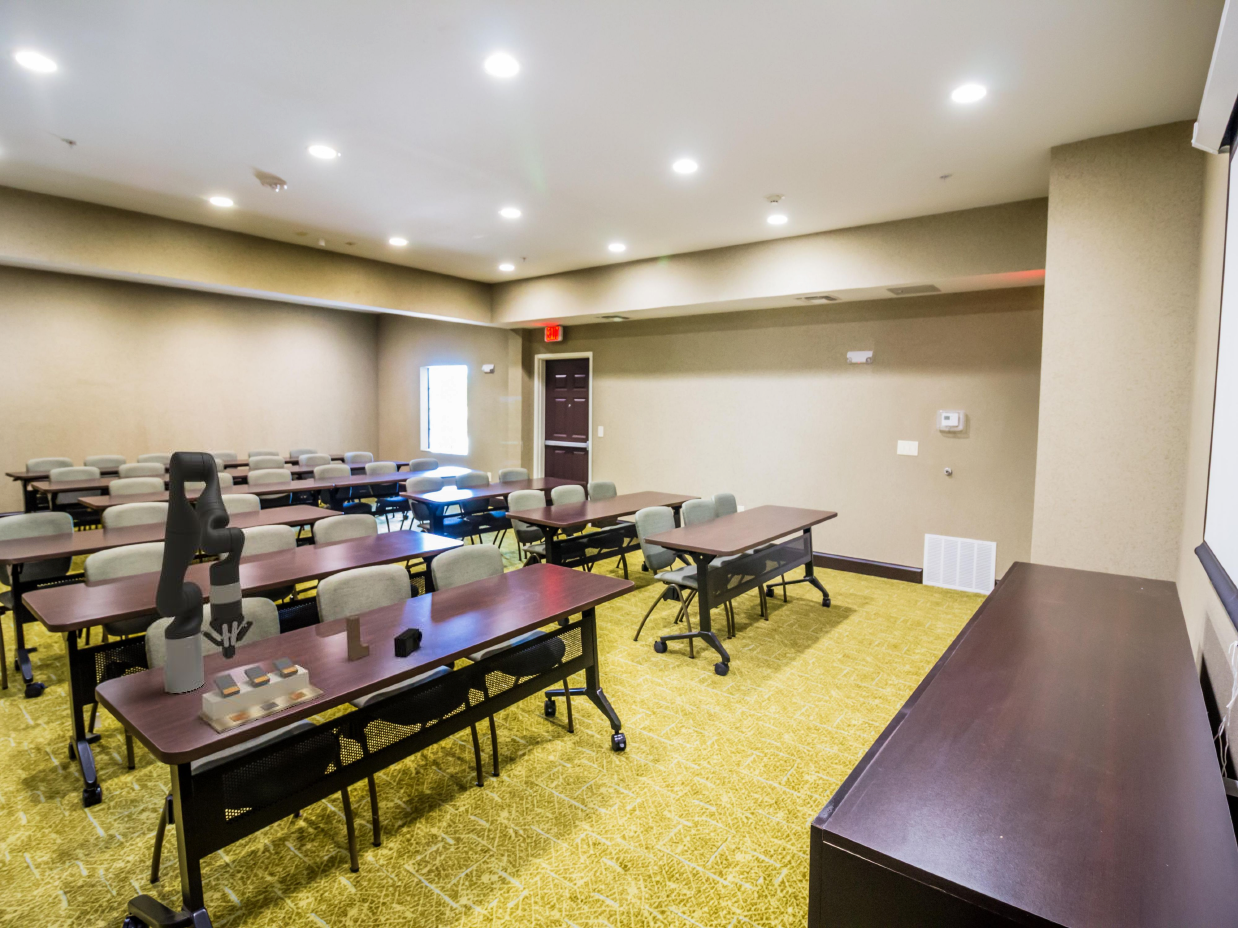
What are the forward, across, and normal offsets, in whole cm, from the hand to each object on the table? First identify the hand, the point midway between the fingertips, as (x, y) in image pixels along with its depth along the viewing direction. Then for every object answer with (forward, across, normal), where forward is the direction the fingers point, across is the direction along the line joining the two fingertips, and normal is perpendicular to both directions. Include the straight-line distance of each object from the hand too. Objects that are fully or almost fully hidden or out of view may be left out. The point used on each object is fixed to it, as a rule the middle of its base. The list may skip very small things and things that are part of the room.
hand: (229, 657), depth 170 cm
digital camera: (+17, +57, +1) cm, 60 cm away
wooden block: (+17, +44, +11) cm, 48 cm away
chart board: (+17, +8, -1) cm, 19 cm away
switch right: (+9, +16, +3) cm, 18 cm away
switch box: (+16, +8, +3) cm, 18 cm away
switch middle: (+9, +8, +3) cm, 12 cm away
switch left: (+9, 0, +3) cm, 9 cm away
